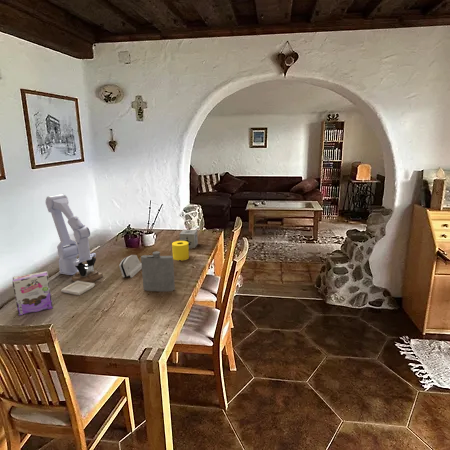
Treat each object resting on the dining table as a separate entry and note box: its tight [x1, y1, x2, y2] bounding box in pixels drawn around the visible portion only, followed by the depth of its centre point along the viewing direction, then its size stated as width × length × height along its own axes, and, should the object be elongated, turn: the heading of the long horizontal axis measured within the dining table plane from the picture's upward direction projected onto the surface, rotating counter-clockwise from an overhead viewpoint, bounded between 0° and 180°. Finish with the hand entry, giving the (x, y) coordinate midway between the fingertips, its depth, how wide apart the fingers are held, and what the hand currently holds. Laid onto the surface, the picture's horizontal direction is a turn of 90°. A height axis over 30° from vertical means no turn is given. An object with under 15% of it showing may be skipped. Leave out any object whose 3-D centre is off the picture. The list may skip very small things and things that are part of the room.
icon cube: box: [179, 229, 199, 249], centre depth 240 cm, size 10×10×10 cm
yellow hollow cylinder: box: [171, 240, 190, 262], centre depth 219 cm, size 10×10×9 cm
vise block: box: [71, 270, 104, 283], centre depth 190 cm, size 13×10×6 cm
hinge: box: [118, 254, 142, 278], centre depth 198 cm, size 17×5×10 cm, turn 168°
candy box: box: [12, 271, 53, 316], centre depth 157 cm, size 14×6×16 cm, turn 117°
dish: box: [61, 281, 96, 296], centre depth 178 cm, size 11×11×2 cm
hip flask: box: [140, 250, 176, 292], centre depth 174 cm, size 16×4×20 cm, turn 85°
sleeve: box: [80, 264, 95, 277], centre depth 190 cm, size 5×5×5 cm
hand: (86, 273), depth 190 cm, fingers open, 6 cm apart
